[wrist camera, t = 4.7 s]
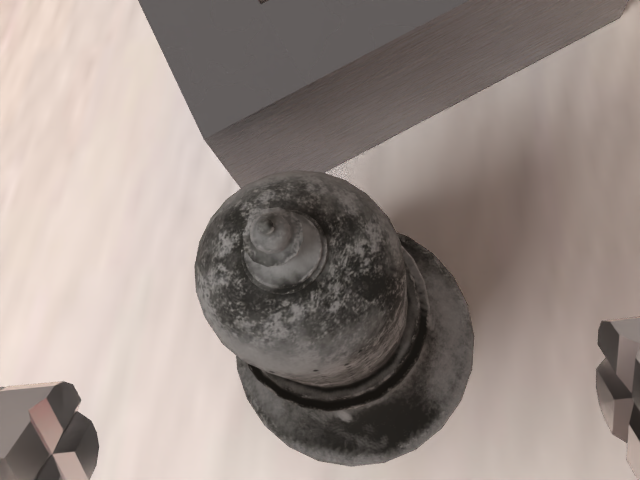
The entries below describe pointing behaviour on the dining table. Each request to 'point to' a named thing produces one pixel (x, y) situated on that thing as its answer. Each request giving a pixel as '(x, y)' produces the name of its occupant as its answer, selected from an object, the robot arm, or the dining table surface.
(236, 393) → the dining table surface
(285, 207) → the grey chess piece
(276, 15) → the square frame
